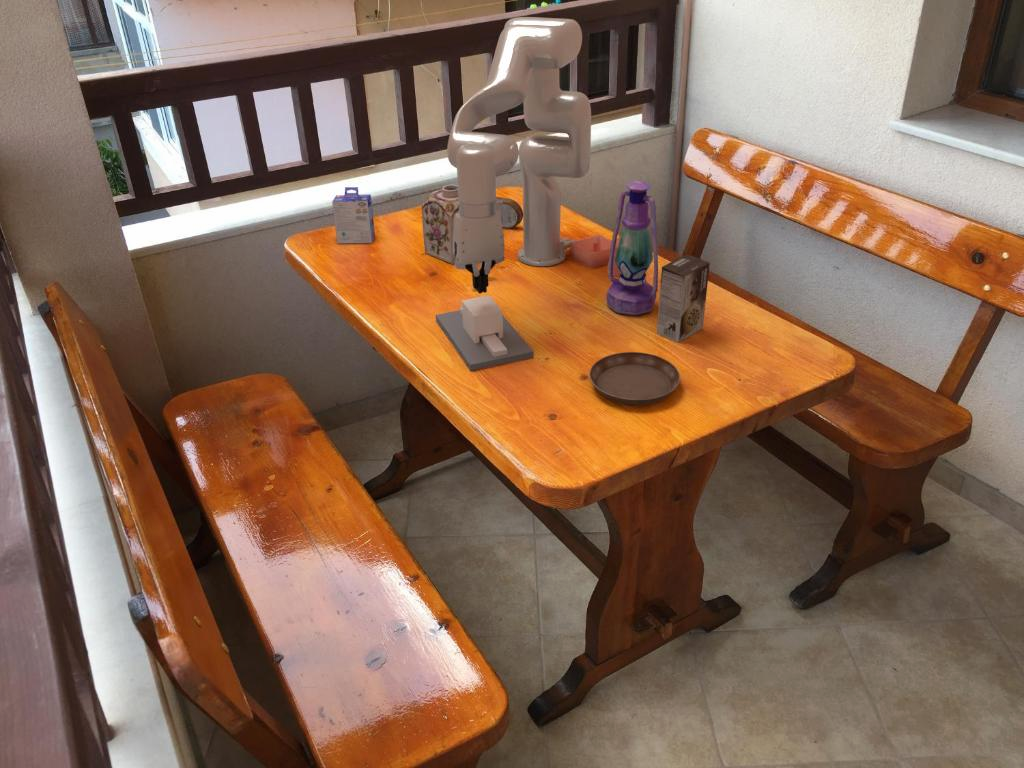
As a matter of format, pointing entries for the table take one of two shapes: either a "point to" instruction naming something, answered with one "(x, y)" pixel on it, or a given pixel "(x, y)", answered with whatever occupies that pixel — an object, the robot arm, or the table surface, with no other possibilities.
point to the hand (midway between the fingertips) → (480, 290)
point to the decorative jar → (440, 222)
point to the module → (482, 317)
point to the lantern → (634, 253)
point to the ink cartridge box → (353, 217)
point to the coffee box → (682, 297)
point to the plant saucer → (634, 378)
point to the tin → (510, 213)
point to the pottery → (594, 252)
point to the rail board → (484, 343)
